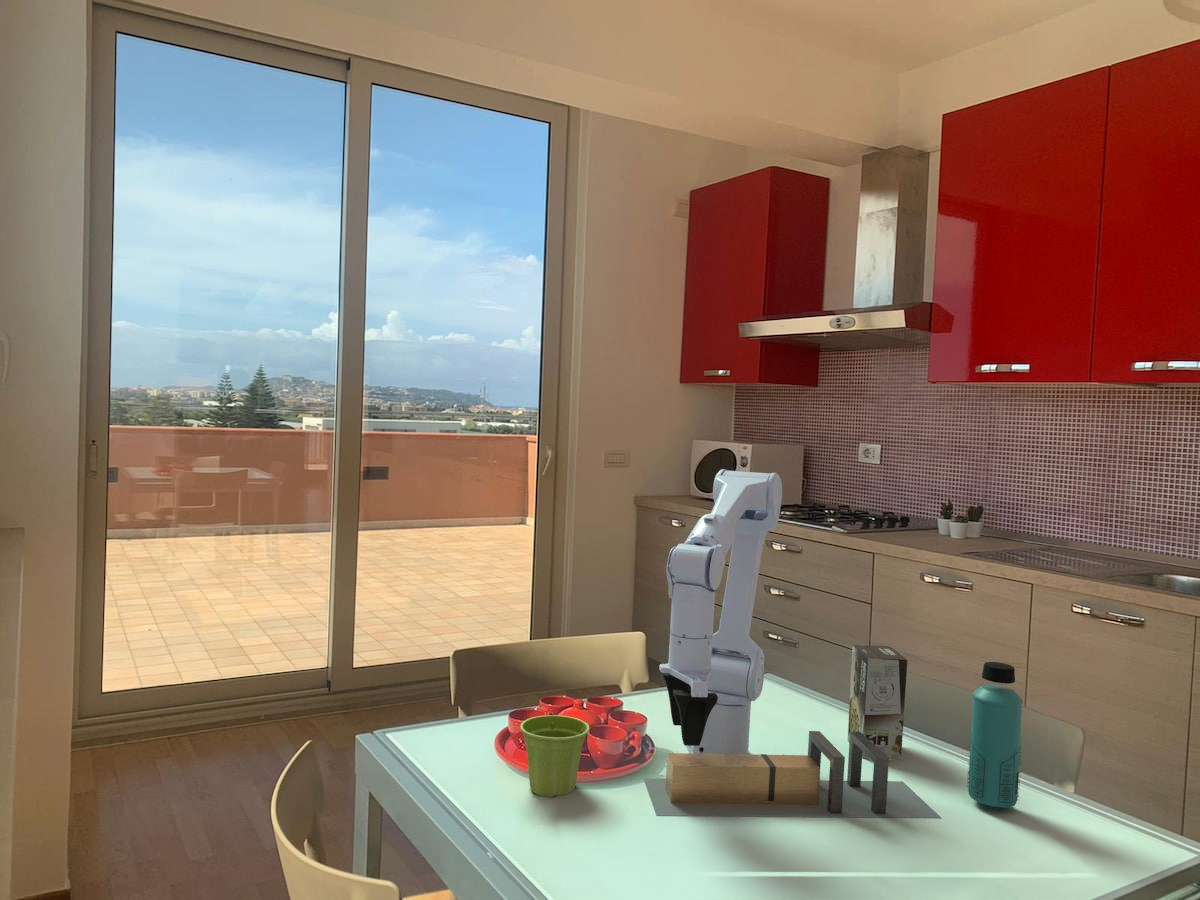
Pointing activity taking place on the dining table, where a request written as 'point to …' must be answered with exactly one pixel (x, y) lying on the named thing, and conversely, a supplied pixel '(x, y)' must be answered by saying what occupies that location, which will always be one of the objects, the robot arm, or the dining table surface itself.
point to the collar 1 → (836, 774)
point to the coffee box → (878, 697)
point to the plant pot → (553, 752)
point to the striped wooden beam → (742, 779)
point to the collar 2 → (879, 772)
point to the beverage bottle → (995, 739)
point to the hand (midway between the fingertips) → (685, 734)
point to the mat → (853, 805)
